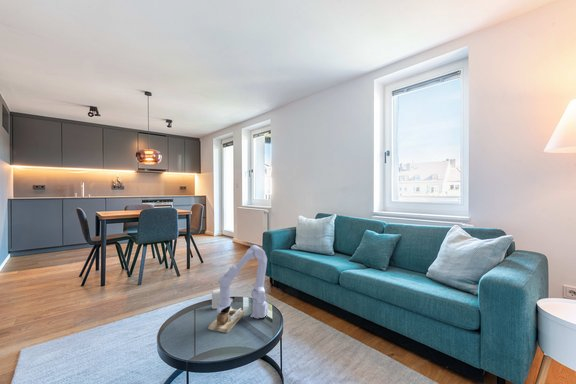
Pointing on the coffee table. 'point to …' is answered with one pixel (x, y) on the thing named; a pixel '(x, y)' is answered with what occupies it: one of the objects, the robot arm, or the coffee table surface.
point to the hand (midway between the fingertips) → (225, 318)
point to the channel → (235, 314)
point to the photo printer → (215, 298)
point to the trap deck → (229, 324)
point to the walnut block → (222, 318)
